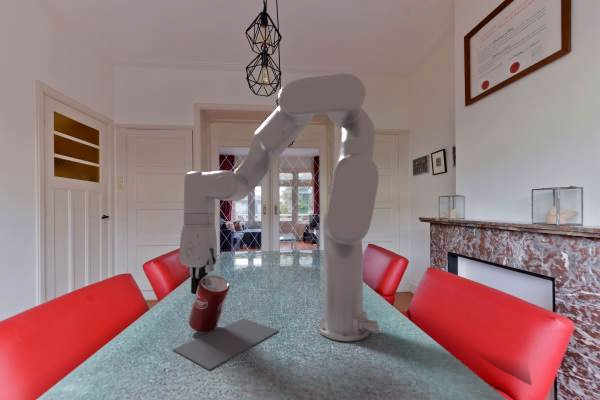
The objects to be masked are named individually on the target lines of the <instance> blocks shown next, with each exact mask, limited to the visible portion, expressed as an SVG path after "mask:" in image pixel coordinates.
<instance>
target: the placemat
mask: <svg viewBox="0 0 600 400" xmlns="http://www.w3.org/2000/svg"><path fill="white" fill-rule="evenodd" d="M279 331H280V330H279V329H276V328H273V327H270V326H266V325H265V324H261V323H258V322H255V321H252V320H249V319H246V318H242V319H239V320H237V321H234V322H231V323H230V324H228V325H225V326H223V327H220V328H219V329H215V330H213V331H211V332H208V333H207V334H205V335H202V336H200V337H197V338H196V339H193V340H191V341H188V342H186V343H184V344H182V345H179V346H177V347H175V348H173V349H172V351H173V352H174V353H177V354H178V355H180V356H182V357H184V358H186V359H187V360H189V361H191V362H193V363H195V364H197V365H198V366H200V367H202V368H204V369H205V370H208V371H212V370H214V369H215V368H217V367H219V366H220V365H222V364H225V362H228V361H230V360H232V359H233V358H235V357H236V356H238V355H240V354H242V353H244V352H245V351H247V350H248V349H251V348H252V347H254V346H256V345H257V344H260V343H261V342H262V341H264V340H265V341H266V339H268V338H270V337H272V336H273V335H275V334H277V333H278V332H279Z"/></svg>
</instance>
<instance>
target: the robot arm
mask: <svg viewBox="0 0 600 400" xmlns="http://www.w3.org/2000/svg"><path fill="white" fill-rule="evenodd" d="M365 99H366V87H365V84H364V82H363V80H362V79H360V77H358V76H356V75H354V74H352V73H351V74H350V73H335V74H334V73H333V74H326V75H325V74H324V75H317V76H316V75H315V76H309V77H303V78H297V79H294V80H290V81H289V82H286V83H285V84H283V86H282V87H281V88H280V90H279V92H278V96H277V102H278V106H277V107H276V109H275V110H274V111H273V112H272V113H271V114H270V115H269V116H268V117H267V118H266V120H264V122H263V123H262V124H261V125H260V126H259V127H258V128H257V129H256V130H255V132H254V133H253V135H252V138H251V141H250V147H249V150H248V153H247V155H246V157H244V160H243V161H242V162H241V163H240V164H239V166H238V167H237V168H236V169H235V170H234V171H233V170H228V169H227V170H226V169H224V170H223V169H221V170H216V171H215V170H214V171H198V170H197V171H194V170H193V171H188V172H186V174H185V175H184V180H183V183H184V185H183V187H184V188H183V225H182V228H181V233H180V242H179V253H178V255H179V257H178V258H179V263H180V264H182V265H183V266H185V267H186V268H187V269H188V270H189V276H190V278H191V279H190V293H191V294H193V295H196V291H197V287H198V284H199V281H200V280H201V279H202V278H203V277H204V276H207V275H209V273H210V272H214V270H215V265H216V264H217V260H218V242H217V241H218V240H217V231H216V224H215V223H216V200H218V201H219V200H220V201H226V202H227V201H228V202H239V201H242V200H244V199H246V197H248V196H249V195H250V194H251V193H252V191H253V190H254V189H255V188H257V186H258V185H259V184H260V183H261V182H262V181H263V179H264V178H265V177H266V176H267V174H268V172H269V171H271V169H272V167H273V166H274V165H275V163H276V162H277V161H278V159H279V157H280V156H281V155H282V154H283V153H284V151H285V150H287V148H288V147H290V145H291V144H292V143H293V141H295V139H297V138H298V137H299V135H300V134H301V133H302V132H303V131H304V130H305V128H306V127H307V126H308V125H309V124H310V123H311V122H312V119H313V118H314V116H315V115H321V114H326V115H327V116H328V119H329V120H330V121H331V122H332V123H333V124H335V126H336V127H337V128H338V129H339V132H340V141H339V148H338V153H337V160H336V163H335V167H334V170H333V173H332V188H331V189H332V190H331V192H330V199H329V202H328V203H329V205H328V208H327V210H326V211H325V213H324V216H323V222H322V224H323V225H322V226H323V227H322V231H323V280H324V281H323V302H324V303H323V308H324V309H323V313H324V314H323V316H324V317H323V318H321V320H319V321H318V324H317V330H318V332H319V333H320V334H321V335H322V336H324V337H326V338H328V339H331V340H335V341H340V342H356V341H361V340H363V339H365V338H366V337H368V336H369V335H370V333H371V334H375V335H378V334H379V333H380V325H379V323H378V322H379V321H376V320H374V319H372V320H371V319H369V318H368V312H367V311H364V289H363V288H364V285H363V283H364V281H363V279H364V277H363V276H364V270H363V269H364V257H363V256H364V255H363V240H364V239H365V237H366V236H367V235H368V233H369V230H370V227H371V223H372V218H373V213H374V209H375V205H376V204H375V203H376V198H377V192H378V187H379V181H380V180H379V178H380V177H379V176H380V175H379V170H378V166H377V164H376V163H375V161H374V160H373V157H374V149H375V143H376V130H375V129H376V128H375V125H374V123H373V121H372V119H371V117H370V116H369V114H368V113H367V111H365V110H364V109H363V108H362V106H363V104H364V102H365Z"/></svg>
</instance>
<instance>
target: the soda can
mask: <svg viewBox="0 0 600 400" xmlns="http://www.w3.org/2000/svg"><path fill="white" fill-rule="evenodd" d="M229 289H230V283H229V282H228V280H227V279H226V278H224V277H223V276H222V275H221V276H220V275H218V274H208V275H207V276H204V277H203V278H202V279H201V280H200V281H199V284H198V287H197V291H196V295H195V294H194V295H195V296H194V299H193V302H192V306H191V310H190V313H189V316H188V324H189V327H190V328H191V329H192V331H195V332H197V333H201V334H206V333H207V334H209V333H211V332H214V331H215V330H217V327H218V325H219V324H220V320H221V317H222V313H223V310H224V308H225V305H226V304H225V303H226V301H227V297H228V294H229V291H230V290H229Z"/></svg>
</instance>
